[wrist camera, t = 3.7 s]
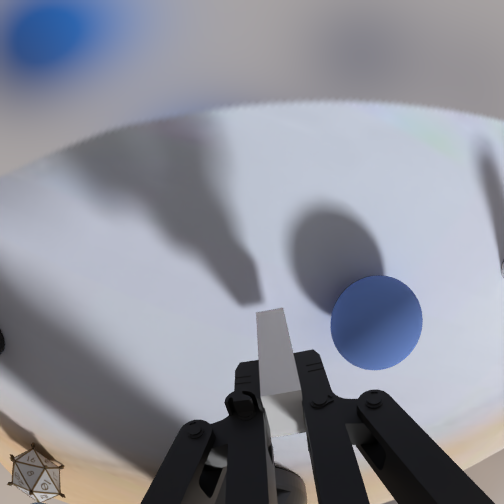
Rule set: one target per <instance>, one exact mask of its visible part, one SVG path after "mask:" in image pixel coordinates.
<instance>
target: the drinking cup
mask: <svg viewBox="0 0 504 504" xmlns="http://www.w3.org/2000/svg"><path fill="white" fill-rule="evenodd" d="M4 346H5V343H4V338H3V335H2V332H1V330H0V354H1V353H2V352H3V350H4Z"/></svg>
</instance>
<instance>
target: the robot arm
mask: <svg viewBox="0 0 504 504" xmlns="http://www.w3.org/2000/svg"><path fill="white" fill-rule="evenodd" d="M256 320H257V338H258V357H259V360H255V361H248V362H241V363H240V364H239V365H238V367H237V368H236V370H235V389H234V392H232V393H230V394H229V395H228V396H227V397H226V399H225V402H224V403H225V405H226V408H227V411H228V413H229V416H228V417H226V418H225V419H223V420H221V421H219V422H216V423H213V424H209V423H208V422H207V421H203V420H193V421H190V422H188V423H186V424H185V425H183V427H182V428H181V429H180V431H179V433H178V435H177V437H176V439H175V440H174V442H173V444H172V446H171V448H170V450H169V452H168V454H167V456H166V457H165V459H164V461H163V463H162V465H161V467H160V469H159V470H158V472H157V474H156V476H155V478H154V480H153V482H152V483H151V485H150V487H149V489H148V491H147V493H146V495H145V496H144V498H143V500H142V502H141V504H307V494H306V488H305V484H304V482H303V480H302V479H301V478H300V477H299V476H297V475H295V474H294V473H291V472H289V471H286V470H283V469H280V468H276V467H274V455H273V446H272V443H271V438H272V437H279V436H285V435H291V434H297V433H303V432H306V434H307V442H308V451H309V453H310V458H311V464H312V469H313V475H314V480H315V486H316V492H317V497H318V503H319V504H370V503H369V500H368V496H367V493H366V490H365V486H364V483H363V479H362V476H361V473H360V470H359V466H358V463H357V460H356V457H355V453H354V450H353V447H352V445H356V447H357V448H358V449H359V451H360V452H361V454H362V455H363V456H364V458H365V459H366V461H367V462H368V463H369V465H370V466H371V467H372V469H373V470H374V472H375V473H376V474H377V476H378V477H379V478H380V480H381V481H382V483H383V484H384V485H385V487H386V488H387V489H388V491H389V492H390V493H391V495H392V496H393V497H394V499H395V500H396V501H397V503H398V504H495V503H494V502H493V501H492V500H491V499H490V498H489V497H488V496H487V495H486V494H485V493H484V492H483V491H482V490H481V489H480V488H479V487H478V486H477V485H476V484H475V483H474V482H473V481H472V480H471V479H470V478H469V477H468V476H467V475H466V473H464V471H463V470H462V469H461V468H460V467H459V466H458V465H457V464H456V463H455V462H454V461H453V460H452V459H451V458H450V457H449V456H448V455H447V454H446V453H445V452H444V451H443V450H442V449H441V448H440V447H439V446H438V445H437V444H436V443H435V442H434V441H433V440H432V439H431V438H430V437H429V436H428V434H427V433H426V432H425V431H424V430H423V429H422V428H421V427H420V426H419V425H418V424H417V423H416V422H415V421H414V420H413V419H412V418H411V417H410V416H409V415H408V414H407V413H406V412H405V411H404V410H403V409H402V408H401V407H400V406H399V405H398V404H397V403H396V402H395V401H394V400H393V399H392V397H391V396H390V395H389V394H387V393H386V392H384V391H381V390H369V391H366V392H364V393H363V394H362V395H360V397H359V398H358V399H344V398H340V397H338V396H336V395H335V394H334V393H333V392H332V390H331V387H330V384H329V381H328V378H327V375H326V372H325V370H324V367H323V364H322V361H321V358H320V355H319V354H318V353H317V352H316V351H314V350H313V349H312V350H308V351H303V352H297V353H293V350H292V345H291V341H290V336H289V332H288V327H287V323H286V318H285V314H284V310H283V308H279V309H273V310H267V311H262V312H256ZM32 504H46V503H41V502H37V503H32Z"/></svg>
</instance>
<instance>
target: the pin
mask: <svg viewBox="0 0 504 504" xmlns="http://www.w3.org/2000/svg"><path fill="white" fill-rule="evenodd" d="M501 272H502V276H503V277H504V261H503V264H502V270H501Z"/></svg>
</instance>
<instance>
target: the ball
mask: <svg viewBox="0 0 504 504" xmlns="http://www.w3.org/2000/svg"><path fill="white" fill-rule="evenodd" d="M422 320H423V319H422V311H421V307H420V304H419V302H418V299H417V298H416V296H415V294H414V293H413V292H412V290H411V289H410V288H409V287H408V286H407V285H405V284H404V283H402V282H401V281H399V280H397V279H395V278H392V277H388V276H380V275H378V276H369V277H366V278H362V279H360V280H358V281H356V282H354V283H353V284H351V285H350V286H349V287H348V288H347V289H345V291H344V292H343V293H342V294H341V295H340V297H339V298H338V300H337V302H336V304H335V306H334V308H333V312H332V316H331V334H332V338H333V341H334V344H335V346H336V348H337V350H338V351H339V353H340V354H341V355H342V356H343V357H344V358H345V359H346V360H347V361H348V362H350V363H351V364H353V365H355V366H357V367H360V368H362V369H367V370H381V369H386V368H389V367H392V366H394V365H396V364H398V363H400V362H401V361H402V360H404V359H405V358H406V357H407V356H408V355H409V354H410V353H411V352H412V350H413V349H414V347H415V346H416V344H417V342H418V340H419V337H420V334H421V330H422Z"/></svg>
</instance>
